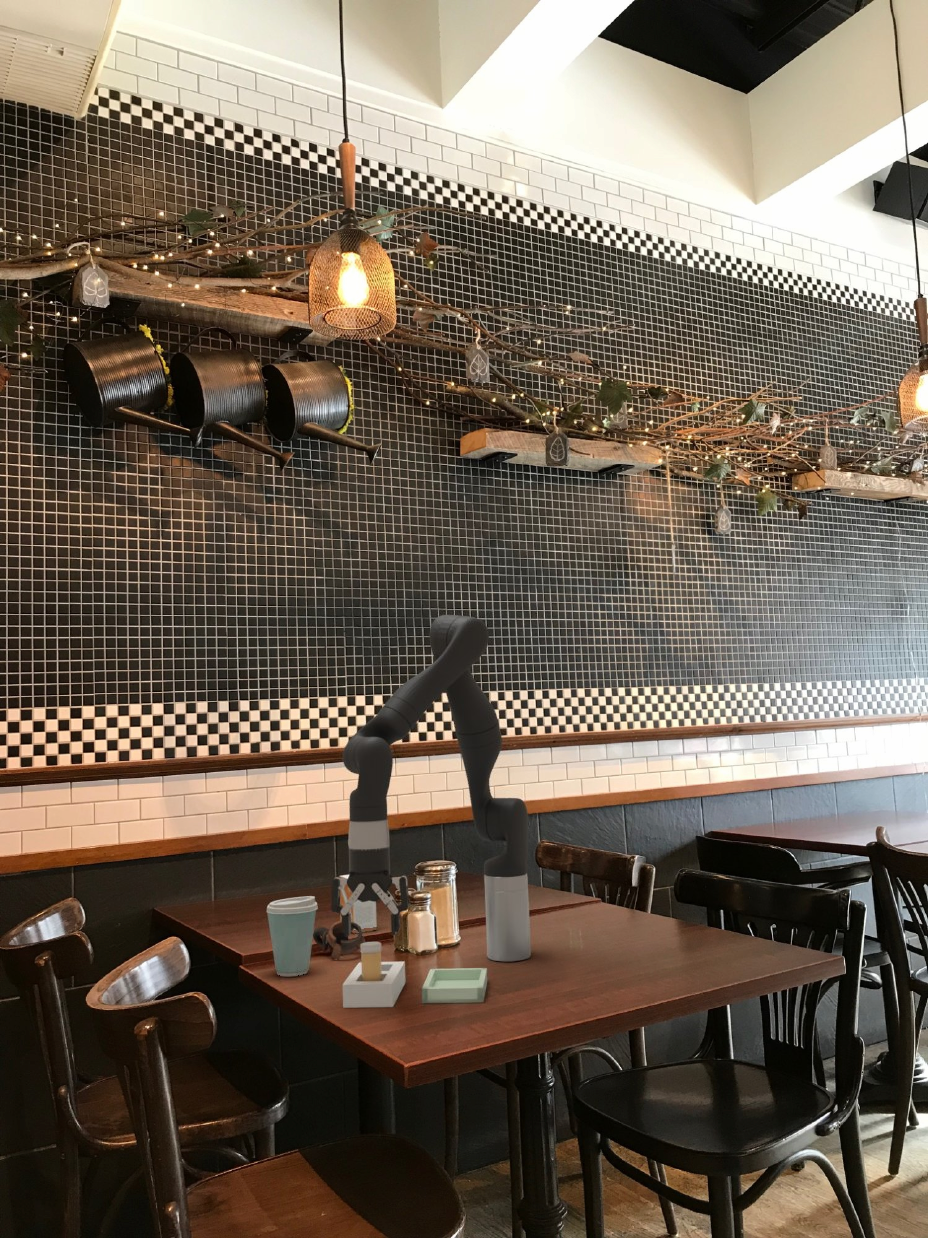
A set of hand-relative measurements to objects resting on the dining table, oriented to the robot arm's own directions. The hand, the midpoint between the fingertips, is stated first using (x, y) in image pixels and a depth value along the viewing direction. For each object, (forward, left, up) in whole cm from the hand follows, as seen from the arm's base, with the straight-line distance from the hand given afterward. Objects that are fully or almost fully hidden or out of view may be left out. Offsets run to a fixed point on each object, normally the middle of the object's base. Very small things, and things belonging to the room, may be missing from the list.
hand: (371, 935), depth 181 cm
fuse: (0, 0, -12) cm, 12 cm away
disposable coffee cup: (-21, -20, -12) cm, 31 cm away
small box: (-61, -14, -12) cm, 64 cm away
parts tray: (-5, +15, -12) cm, 20 cm away
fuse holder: (-4, 0, -12) cm, 12 cm away
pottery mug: (-36, -14, -12) cm, 40 cm away
